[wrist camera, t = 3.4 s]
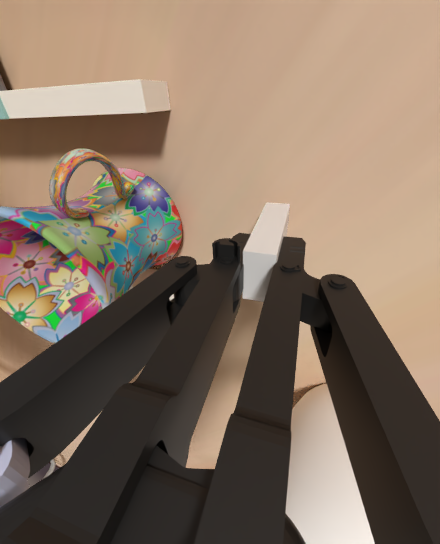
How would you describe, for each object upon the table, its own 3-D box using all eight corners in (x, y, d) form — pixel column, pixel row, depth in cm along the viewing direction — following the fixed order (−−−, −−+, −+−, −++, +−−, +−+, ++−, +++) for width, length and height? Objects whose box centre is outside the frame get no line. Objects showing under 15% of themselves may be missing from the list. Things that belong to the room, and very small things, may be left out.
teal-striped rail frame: (-135, 61, 22) (-194, 56, 19) (158, 13, 14) (123, -4, 12) (0, 273, 34) (-26, 288, 32) (196, 310, 26) (183, 333, 24)
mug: (172, 279, 25) (99, 371, 17) (89, 231, 25) (-26, 300, 17) (223, 166, 18) (137, 230, 9) (105, 96, 17) (-90, 97, 9)
